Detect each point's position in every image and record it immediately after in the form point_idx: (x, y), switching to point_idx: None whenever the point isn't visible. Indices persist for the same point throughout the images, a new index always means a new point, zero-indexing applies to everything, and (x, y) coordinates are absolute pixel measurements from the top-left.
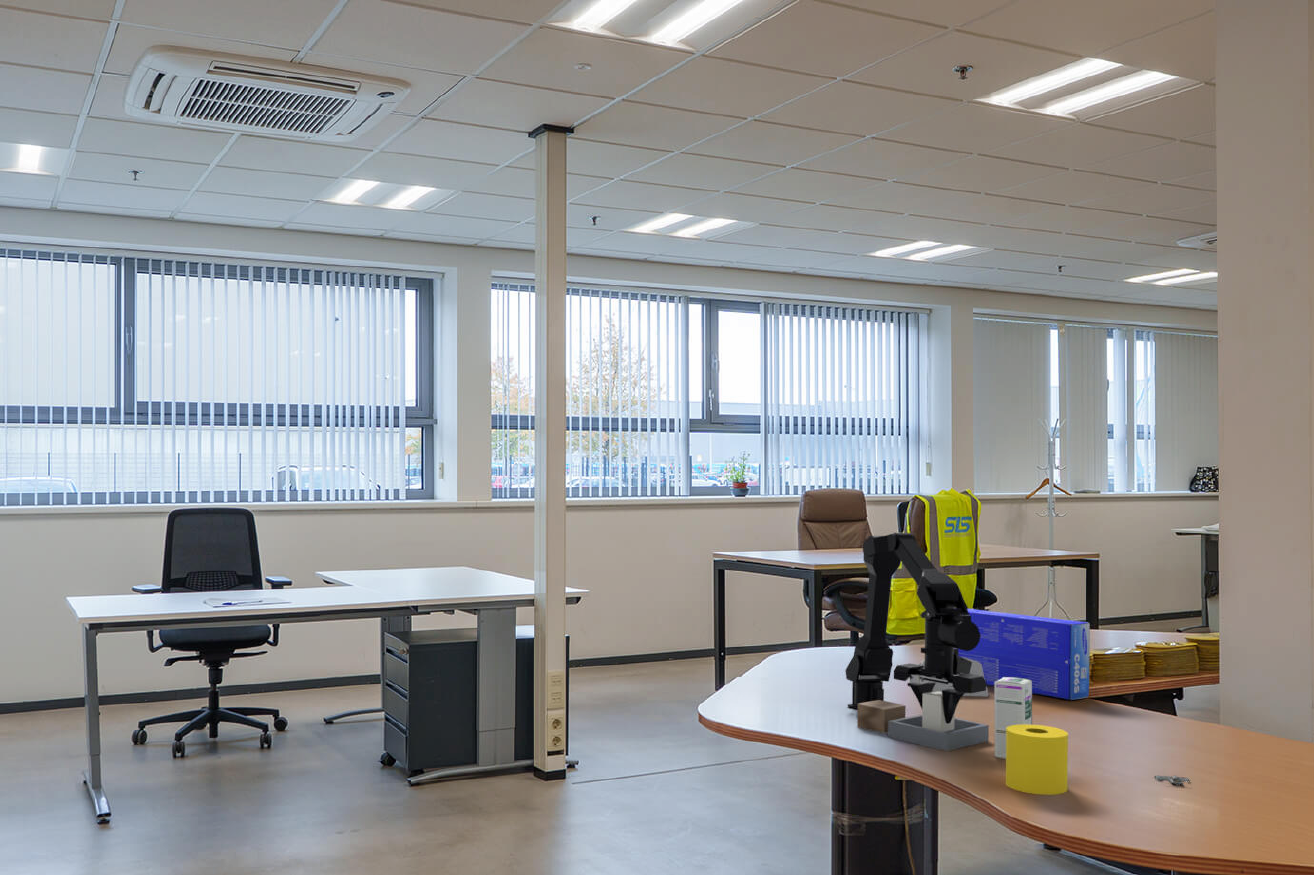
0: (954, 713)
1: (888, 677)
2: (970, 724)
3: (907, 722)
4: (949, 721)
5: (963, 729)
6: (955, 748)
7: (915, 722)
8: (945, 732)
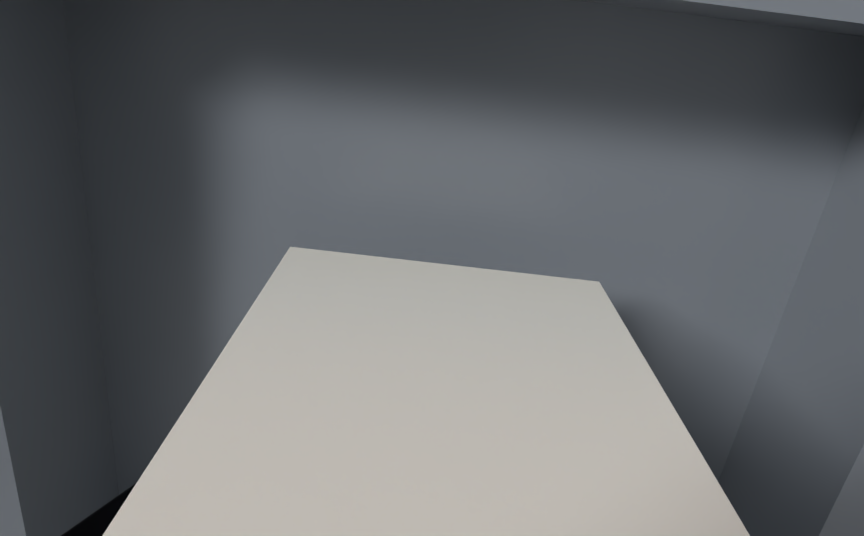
0: (680, 419)
1: None
2: (800, 17)
3: (50, 481)
4: None
5: (851, 527)
6: None
7: (40, 329)
8: (395, 127)
